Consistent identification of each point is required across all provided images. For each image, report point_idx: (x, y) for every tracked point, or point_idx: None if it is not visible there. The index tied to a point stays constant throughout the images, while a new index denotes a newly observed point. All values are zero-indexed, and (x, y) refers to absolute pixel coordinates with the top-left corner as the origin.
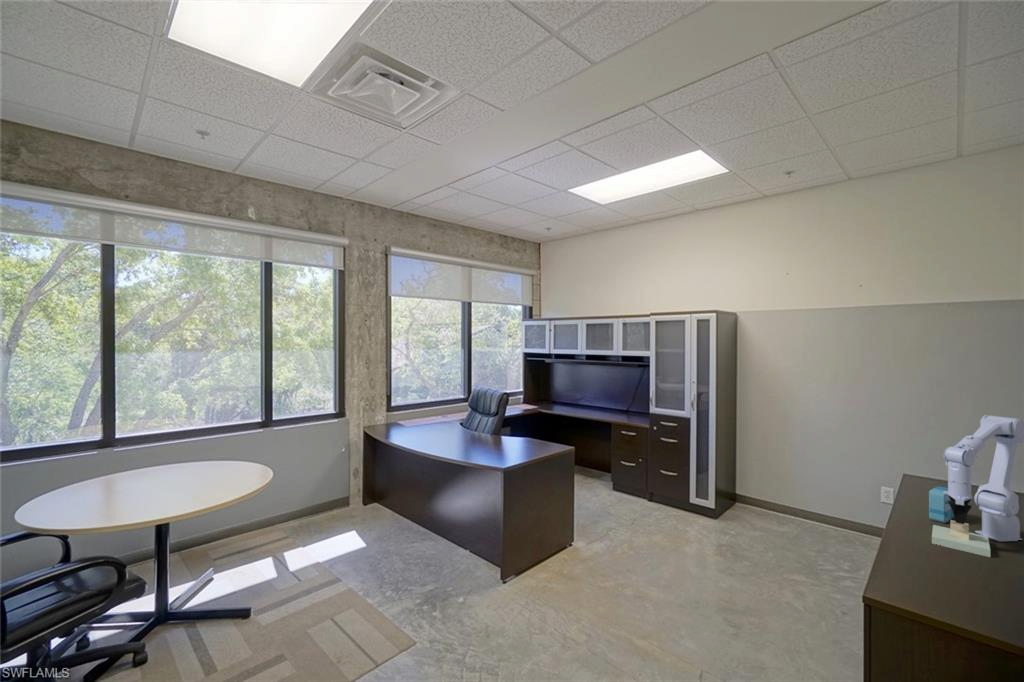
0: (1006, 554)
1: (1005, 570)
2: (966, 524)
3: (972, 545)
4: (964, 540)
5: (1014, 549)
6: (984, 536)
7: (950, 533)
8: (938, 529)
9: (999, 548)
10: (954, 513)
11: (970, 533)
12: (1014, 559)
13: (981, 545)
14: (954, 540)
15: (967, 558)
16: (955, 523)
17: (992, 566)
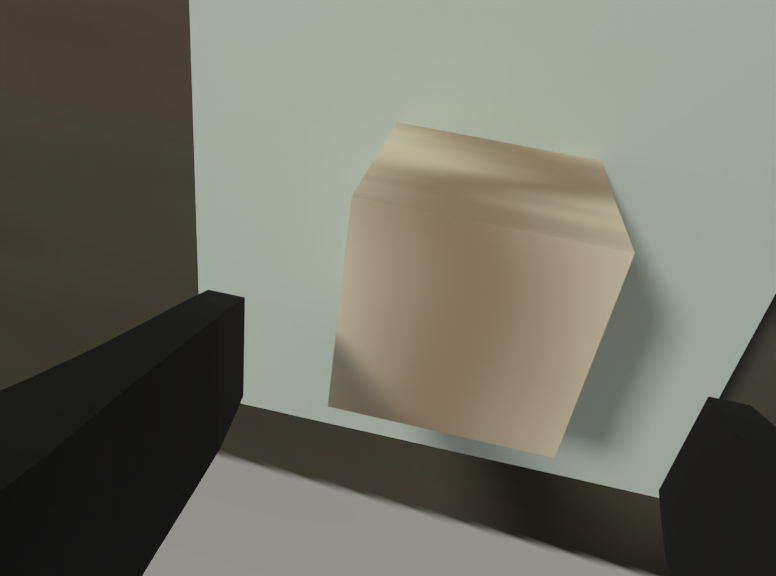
0: (410, 470)
1: (10, 357)
2: (485, 422)
3: (208, 283)
4: (335, 248)
5: (590, 554)
6: (642, 470)
7: (388, 136)
8: (674, 7)
9: (548, 474)
10: (16, 399)
11: (687, 377)
12: (322, 479)
13: (282, 361)
14: (242, 137)
15: (37, 163)
16: (432, 284)
17: (15, 301)
